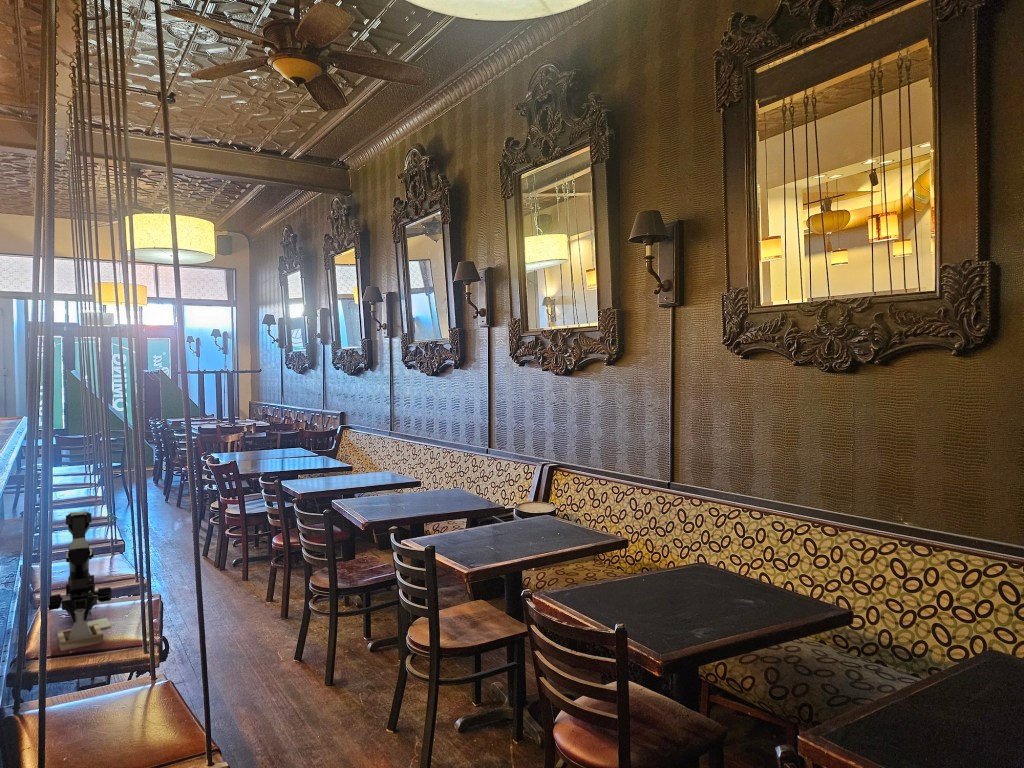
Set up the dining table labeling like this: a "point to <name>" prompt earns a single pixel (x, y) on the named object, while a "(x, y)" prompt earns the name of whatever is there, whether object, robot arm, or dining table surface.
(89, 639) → the oak cradle
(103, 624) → the sage pad
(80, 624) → the flask
